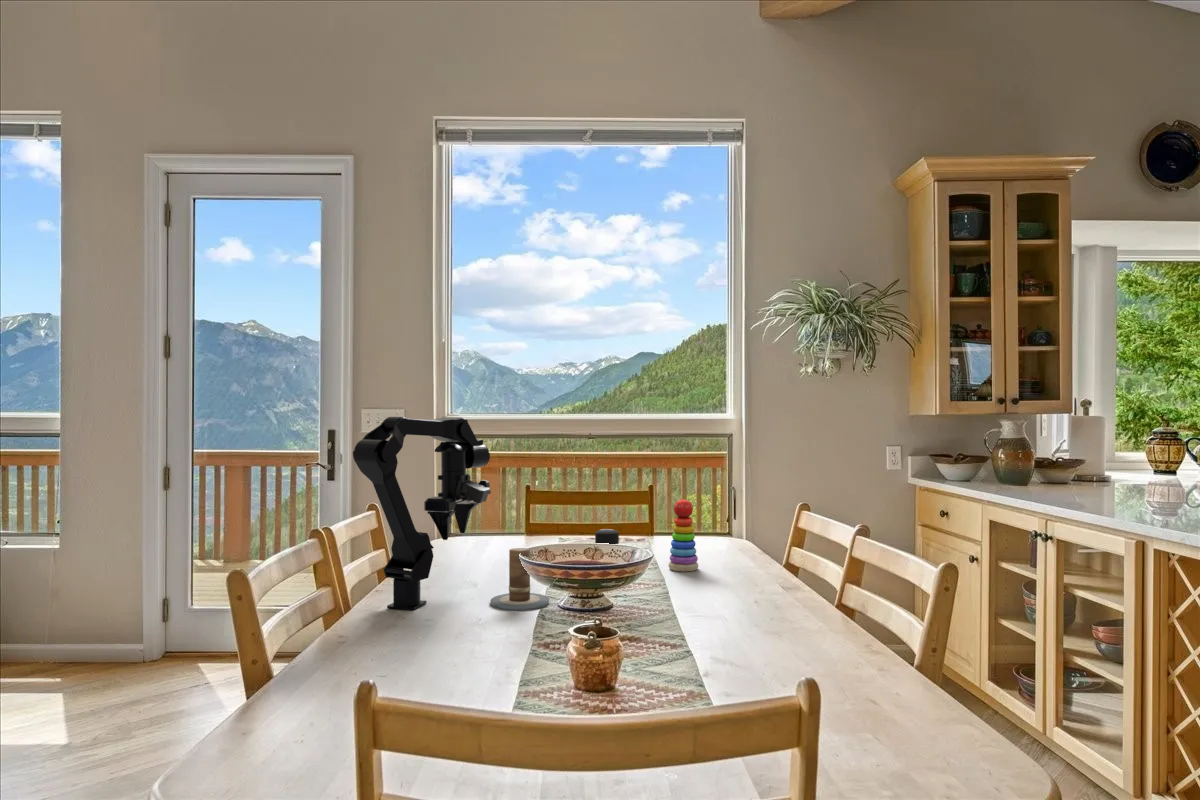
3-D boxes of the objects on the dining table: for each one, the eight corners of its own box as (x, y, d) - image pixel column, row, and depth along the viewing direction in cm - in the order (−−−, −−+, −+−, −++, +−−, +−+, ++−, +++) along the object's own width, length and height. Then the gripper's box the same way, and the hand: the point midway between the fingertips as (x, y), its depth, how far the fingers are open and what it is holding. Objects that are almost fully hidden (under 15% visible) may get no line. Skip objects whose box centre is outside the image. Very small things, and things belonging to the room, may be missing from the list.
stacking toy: (663, 567, 219) (663, 498, 219) (688, 565, 222) (688, 496, 222) (677, 573, 212) (678, 501, 211) (704, 570, 215) (704, 500, 215)
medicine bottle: (620, 580, 204) (620, 532, 204) (592, 579, 204) (592, 532, 204) (620, 573, 211) (620, 527, 211) (593, 573, 211) (593, 527, 211)
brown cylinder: (515, 602, 177) (515, 552, 177) (504, 598, 181) (505, 549, 181) (534, 599, 180) (534, 550, 180) (523, 595, 184) (523, 547, 184)
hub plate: (537, 612, 173) (537, 608, 173) (481, 608, 176) (481, 604, 176) (556, 598, 185) (556, 594, 185) (503, 594, 189) (503, 590, 189)
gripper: (468, 475, 180) (468, 545, 180) (500, 467, 198) (501, 531, 198) (422, 474, 183) (423, 543, 183) (458, 466, 201) (459, 529, 201)
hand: (454, 536), depth 191 cm, fingers open, 9 cm apart
